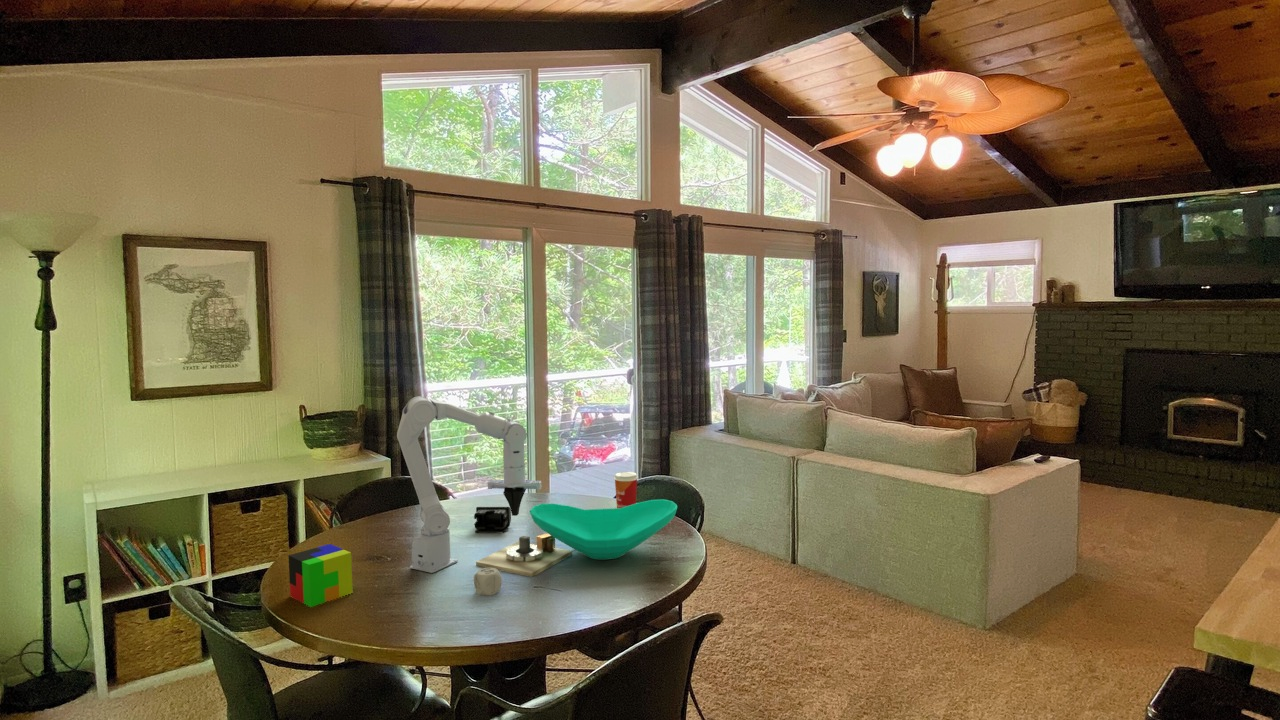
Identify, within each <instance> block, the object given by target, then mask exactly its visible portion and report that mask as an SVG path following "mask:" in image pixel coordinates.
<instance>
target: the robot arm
mask: <svg viewBox="0 0 1280 720" xmlns="http://www.w3.org/2000/svg"><path fill="white" fill-rule="evenodd" d="M488 411H489V412H487V411H483V412H481V413H475V412H473V411H469V410H467V409H464V408H461V407H459V406H456V405H454V404H451V403H449V402H446V401H442V400H438V399H433V398H429V399H427V398H426V397H424V396H415V397H412V398H411V399H409V400H408V402H407V403H406V405H405V406H404V407H403V409H402V414H401V418H400V421H399V425H398V429H397V432H396V436H397V437H396V438H397V440H398V443H399V447H400V450H401V452H402V455H403V458H404V460H405V463H406V464H405V465H406V466H407V469H408V472H409V475H410V477H411V481H412V483H413V487H414V490H415V492H416V496H417V498H418V501H419V506H420V513H419V517H420V520H421V522H422V524H423V526H422V527H421V529H420V533H419V535H418V536H417V537H416V538H414V539H413V541H412V544H411V563H412V564H411V565H410V566H409V568H410V569H413V570H417V571H421V572H426V573H431V574H433V573H436V572H439V571H441V570H442V569H445V568H446V567H449V566H451V565H453V564H455V563H457V562H458V559H457V558H453V557H451V542H450V541H451V537H450V527H449V526H450V525H451V519H450V516H449V514H448V513H447V511H446V510H445V508H444V506H443V505H442V504H441V501H440V499H439V497H438V494H437V492H436V489H435V485H434V483H433V479H432V478H431V474H430V471H429V468H428V465H427V462H426V460H425V456H424V453H423V451H422V448H421V444H420V442H419V437H420V435H421V434H422V433H423V431H424V429H425V428H426V427H427V426H429V425H430V424H431V423H432V422H434V420H437V421H441V420H444V419H451V420H453V421H457V422H461V423H463V424H467V425H472V426H473V427H475V430H476V432H478V433H479V434H482V435H486V436H488V437H491V438H494V439H498V440H503V441H502V443H503V446H502V447H503V448H502V449H503V450H502V459H503V463H502V464H503V479H497V480H496V479H494V480H489V481H488V482H487V490H493V489H504V490H503V491H502V492H503V494H502V495H503V496H504V497H505V499H506V501H507V504H508V505H509V506H508V507H510V509H511V517H512V516H516V517H517V516H518V515H519V514H520V508H521V504H522V501H523V497H524V495H525V492H526V491H527V490H541V489H542V488H543V487H542V480H531V479H526V468H525V466H526V464H525V463H526V462H525V461H526V460H525V441H526V440H527V437H528V433H527V432H526V431H527V430H526V428H525V427H524V426H523V424H520V423H519V422H517V421H515V420H513V419H511V418H509V417H505V418H504V417H502V416H498V415H497V414H495V412H494V411H491V410H488Z"/></svg>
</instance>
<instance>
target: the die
mask: <svg viewBox="0 0 1280 720" xmlns="http://www.w3.org/2000/svg"><path fill="white" fill-rule="evenodd" d="M502 584H503V581H502V575H501V573H500V570H497V569H496V568H486V567H482V568H480V569H478V570H477V571H476V573H475V574H474V576H473V586H474V587H473V588H474V589H475V592H476V594H478V595H480V596H484V597H485V596H486V597H489V596H494V595H496V594H497V593H499V591H500V590H501V588H502Z"/></svg>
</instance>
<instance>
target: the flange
mask: <svg viewBox="0 0 1280 720" xmlns="http://www.w3.org/2000/svg"><path fill="white" fill-rule="evenodd" d="M548 538H552V539H553V548H556V538H554V537H553V536H551V535H550V534H548V533H547V532H545V533H544V534H543V533H542V534H540V535H536V544H537V545H536V546H535V545H530V552H531V553H527V554H519V553H520V550H519V545H518V546H515V547H511V548H509V549H508V550H507V552H506V558H507V559H509V560H512V561H513V560H514V561H520V562H523V561H524V560H525V561H532V560H535V559H538V558H540V557H542V556H543V551H546V550H547V539H548Z"/></svg>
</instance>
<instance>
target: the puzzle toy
mask: <svg viewBox="0 0 1280 720" xmlns="http://www.w3.org/2000/svg"><path fill="white" fill-rule="evenodd" d="M352 562H353V561H352V552H350V551H349V550H345V549H343V548H341V547H339V546H336V545H333V544H331V543H329V544H325V545H321V546H318V547H314V548H310V549H306V550H302V551H299V552H295V553H291V554H288V570H289V571H288V573H289V575H288V577H289V592H290V593H289V594H290V595H289V597H290V596H292V597H293V598H292V597H291V598H292V599H294V598H295V599H294V600H296V599H297V600H299V601H301V602H303V603H304V604H303V603H302V604H303V605H305V604H306V605H305V606H307V605H308V606H307V607H309V606H310V607H312V606H315V605H318V604H320V603H324V602H326V601H329V602H331V601H330V600H332V601H334V600H333V599H335V600H337V599H336V598H338V599H340V598H339V597H341V598H343V597H342V596H344V597H346V596H345V595H347V596H349V595H348V594H350V595H352V594H351V593H353V594H354V588H353V568H352V567H353V566H352V565H353V563H352ZM297 600H296V601H297ZM299 601H298V602H299ZM301 602H300V603H301ZM324 604H325V603H324ZM318 606H319V605H318ZM310 607H309V608H310ZM315 607H316V606H315ZM312 608H313V607H312Z"/></svg>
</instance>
